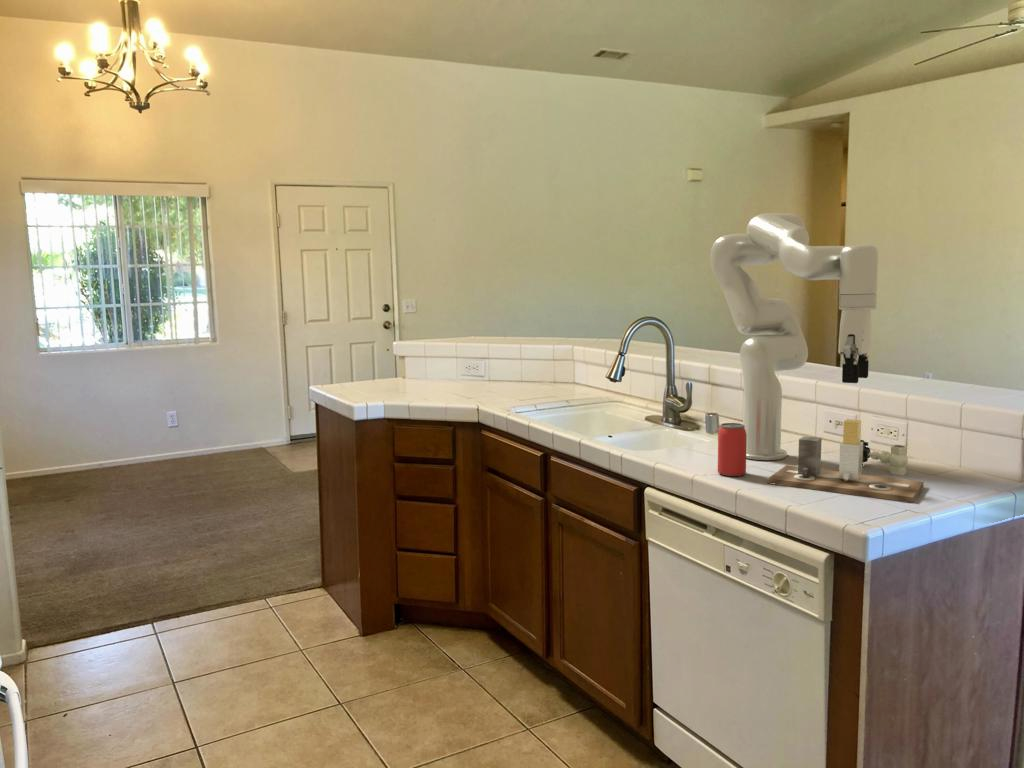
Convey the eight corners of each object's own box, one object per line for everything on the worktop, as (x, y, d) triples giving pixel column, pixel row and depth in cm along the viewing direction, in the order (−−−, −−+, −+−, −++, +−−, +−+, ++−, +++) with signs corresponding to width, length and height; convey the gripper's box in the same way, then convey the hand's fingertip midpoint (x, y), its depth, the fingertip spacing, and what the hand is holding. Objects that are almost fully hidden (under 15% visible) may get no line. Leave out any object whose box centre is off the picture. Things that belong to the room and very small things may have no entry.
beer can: (733, 478, 186) (733, 428, 184) (711, 473, 191) (712, 424, 190) (751, 474, 189) (752, 425, 188) (730, 469, 195) (731, 421, 193)
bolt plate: (767, 483, 181) (768, 441, 180) (786, 470, 193) (787, 431, 191) (912, 502, 164) (914, 457, 163) (923, 487, 175) (925, 444, 174)
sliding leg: (836, 480, 176) (838, 423, 174) (843, 474, 181) (845, 418, 179) (855, 483, 174) (857, 425, 172) (861, 476, 179) (864, 420, 177)
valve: (913, 472, 188) (865, 463, 198) (914, 445, 187) (866, 437, 197) (899, 477, 184) (850, 467, 194) (900, 449, 183) (851, 441, 193)
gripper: (848, 301, 182) (846, 375, 184) (829, 304, 168) (827, 384, 170) (884, 300, 178) (881, 376, 180) (867, 304, 164) (864, 385, 166)
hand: (855, 380), depth 175 cm, fingers open, 9 cm apart
